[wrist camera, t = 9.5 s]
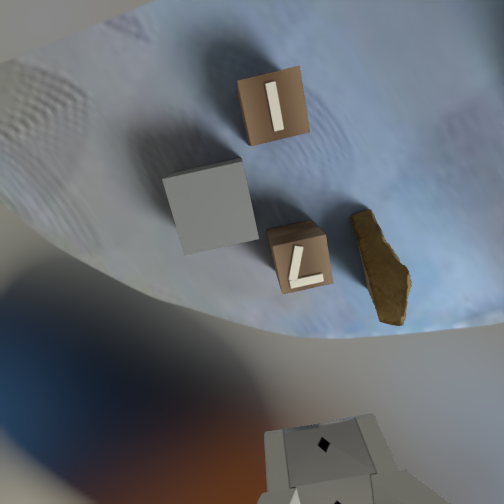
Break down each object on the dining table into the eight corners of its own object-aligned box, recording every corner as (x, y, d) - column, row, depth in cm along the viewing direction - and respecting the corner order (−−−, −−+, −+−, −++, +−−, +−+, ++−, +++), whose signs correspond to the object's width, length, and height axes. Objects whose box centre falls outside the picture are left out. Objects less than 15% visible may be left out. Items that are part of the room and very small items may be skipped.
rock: (331, 206, 33) (319, 301, 35) (418, 216, 27) (398, 331, 29) (384, 209, 41) (372, 288, 42) (463, 217, 34) (445, 309, 36)
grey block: (241, 157, 34) (242, 161, 28) (255, 223, 36) (259, 239, 30) (174, 172, 34) (162, 179, 28) (192, 236, 36) (184, 255, 31)
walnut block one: (287, 78, 32) (300, 65, 26) (297, 133, 33) (310, 132, 27) (236, 91, 32) (237, 80, 26) (248, 145, 33) (251, 146, 28)
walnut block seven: (311, 219, 36) (326, 235, 30) (318, 261, 38) (333, 284, 32) (266, 229, 36) (272, 247, 30) (275, 271, 38) (282, 295, 32)
